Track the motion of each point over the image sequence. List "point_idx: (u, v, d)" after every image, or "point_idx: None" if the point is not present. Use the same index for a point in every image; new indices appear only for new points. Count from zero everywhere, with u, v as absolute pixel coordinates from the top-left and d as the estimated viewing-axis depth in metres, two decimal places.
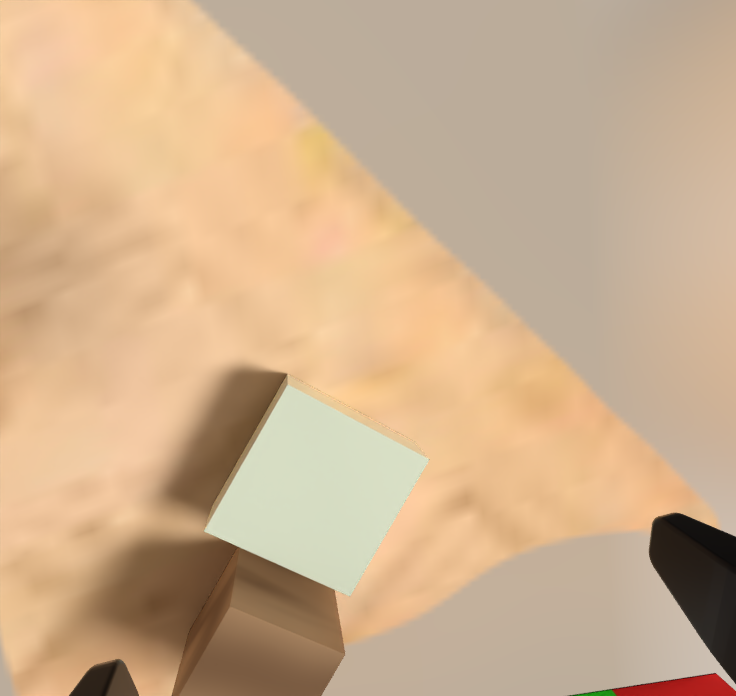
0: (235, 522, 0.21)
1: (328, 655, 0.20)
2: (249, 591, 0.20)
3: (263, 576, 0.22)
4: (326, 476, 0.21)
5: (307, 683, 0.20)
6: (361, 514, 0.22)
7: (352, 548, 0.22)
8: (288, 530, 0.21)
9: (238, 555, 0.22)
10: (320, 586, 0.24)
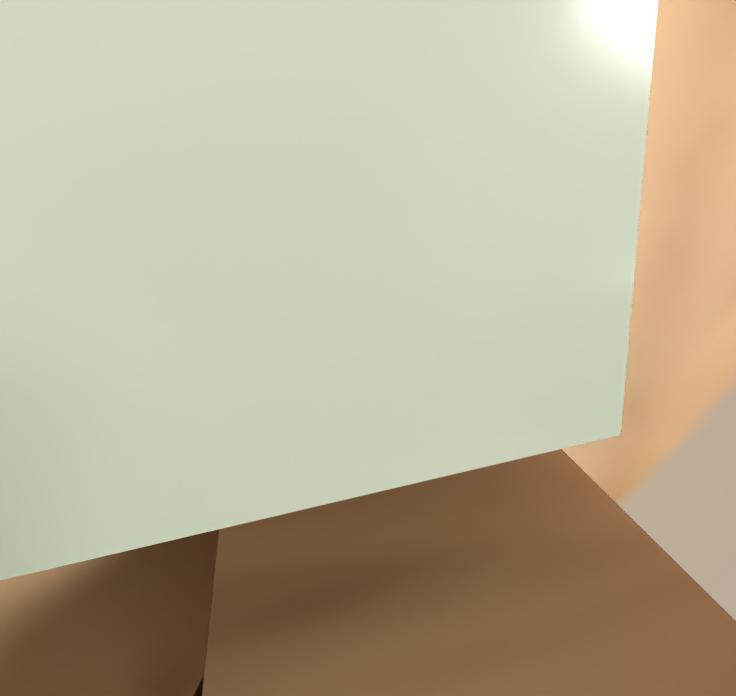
0: (49, 490, 0.05)
1: None
2: (279, 679, 0.05)
3: (319, 553, 0.06)
4: (221, 47, 0.04)
5: None
6: (496, 129, 0.04)
7: (543, 286, 0.05)
8: (262, 386, 0.05)
9: (221, 531, 0.07)
10: None
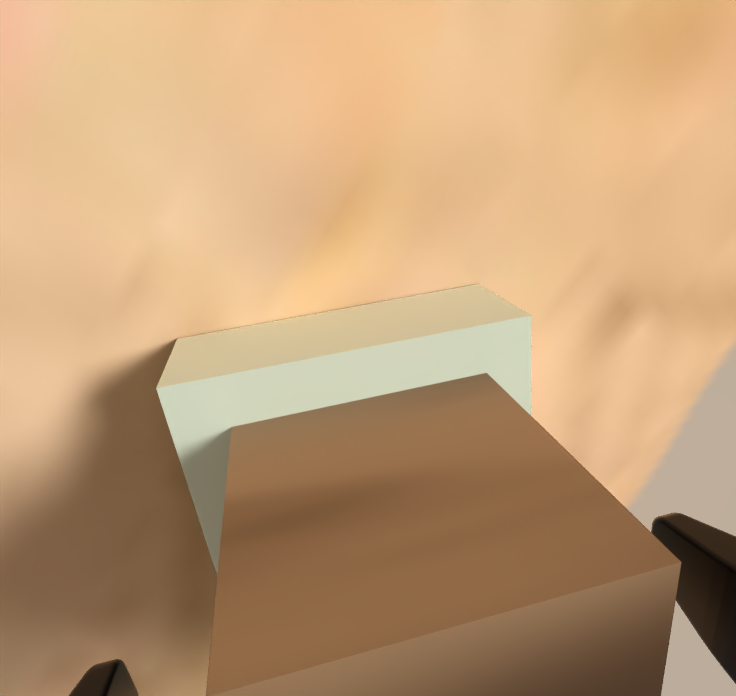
0: None
1: (629, 596, 0.05)
2: (276, 563, 0.06)
3: (310, 481, 0.07)
4: None
5: (607, 683, 0.06)
6: None
7: None
8: None
9: (229, 469, 0.08)
10: (467, 402, 0.09)
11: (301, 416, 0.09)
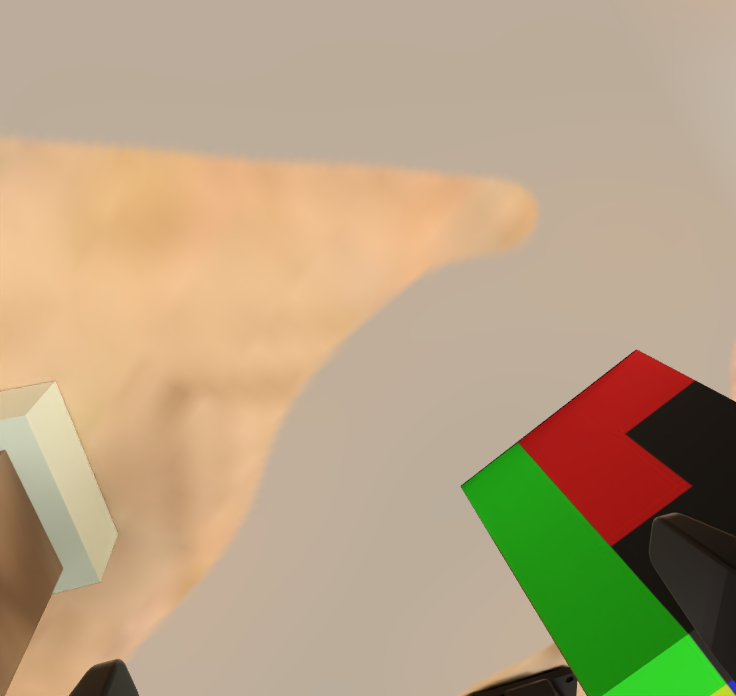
0: None
1: None
2: None
3: None
4: None
5: None
6: None
7: None
8: None
9: None
10: None
11: None
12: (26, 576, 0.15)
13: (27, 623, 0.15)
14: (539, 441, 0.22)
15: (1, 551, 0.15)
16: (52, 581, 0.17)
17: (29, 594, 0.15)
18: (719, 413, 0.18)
